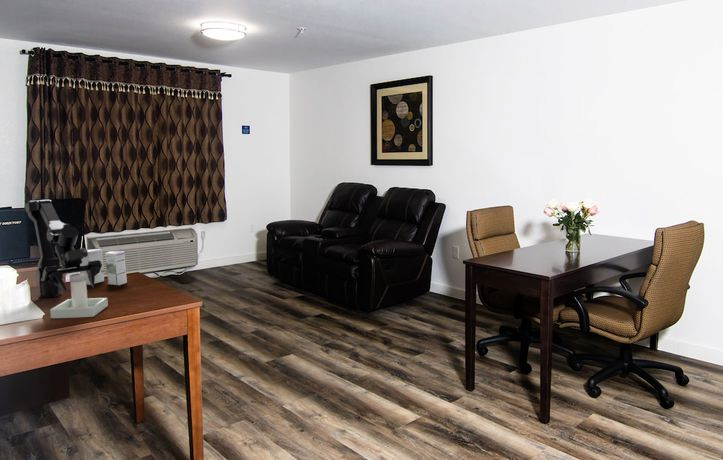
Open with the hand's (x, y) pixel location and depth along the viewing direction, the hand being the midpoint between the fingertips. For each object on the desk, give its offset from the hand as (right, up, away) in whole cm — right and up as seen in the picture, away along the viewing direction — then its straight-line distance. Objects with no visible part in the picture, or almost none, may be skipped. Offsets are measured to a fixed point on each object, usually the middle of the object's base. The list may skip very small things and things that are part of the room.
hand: (80, 289), depth 187 cm
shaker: (-1, -8, +2) cm, 8 cm away
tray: (-1, -8, +2) cm, 9 cm away
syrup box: (-8, -3, +45) cm, 46 cm away
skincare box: (-20, -3, +48) cm, 52 cm away
